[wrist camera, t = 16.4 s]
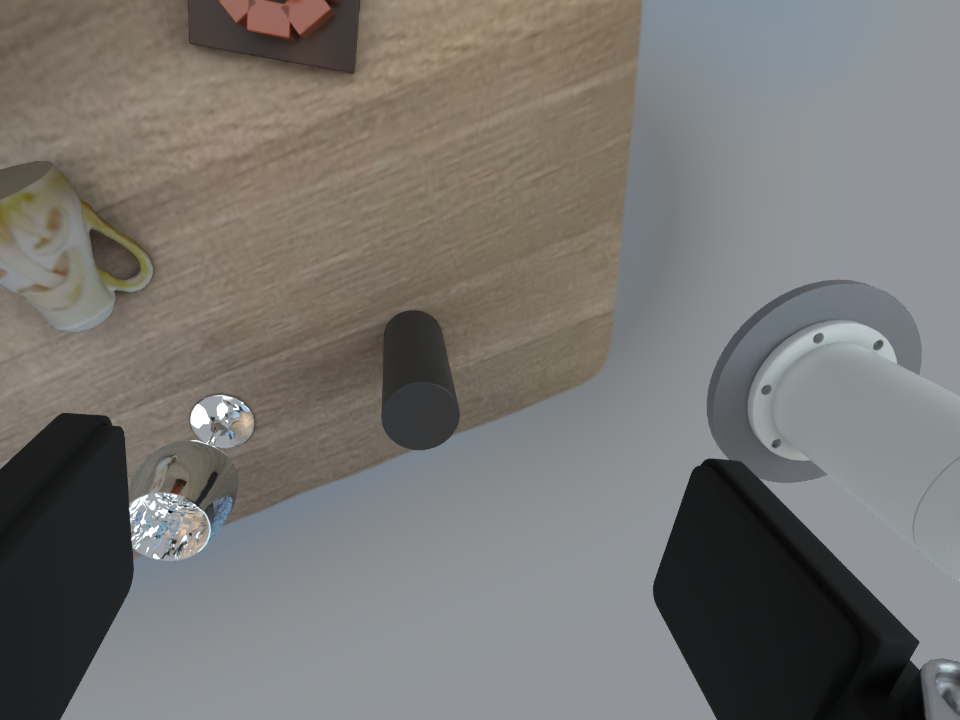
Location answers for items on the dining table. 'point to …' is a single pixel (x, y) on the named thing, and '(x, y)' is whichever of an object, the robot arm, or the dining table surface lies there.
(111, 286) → the mug
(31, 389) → the dining table surface
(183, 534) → the wineglass
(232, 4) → the ring
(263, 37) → the post
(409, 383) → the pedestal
